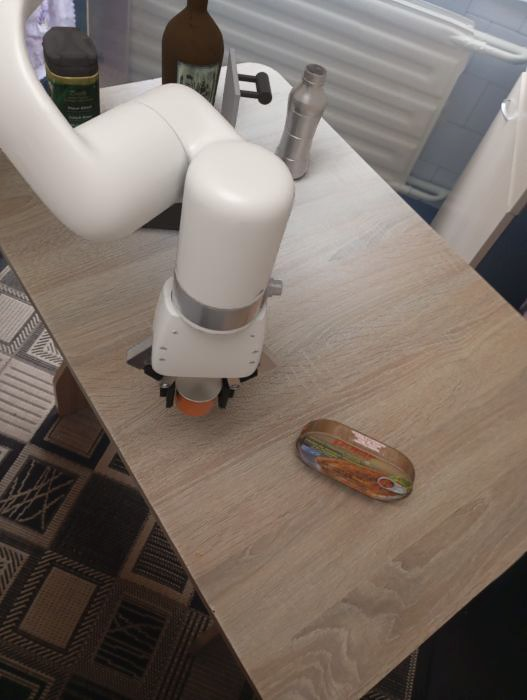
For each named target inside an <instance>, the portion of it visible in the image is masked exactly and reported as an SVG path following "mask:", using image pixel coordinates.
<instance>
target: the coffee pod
mask: <svg viewBox="0 0 527 700" xmlns="http://www.w3.org/2000/svg"><path fill="white" fill-rule="evenodd" d="M221 389H222V378H206V377H177V378H176V379H175V396H174V404H175V405H176V407H177V409H178V410H179V411H180V412H182V414H184V415H187V416H190V417H202V416H205V415H207V414H208V413H209V412H211V411H212V409H213V408H214V407H215V403H216V399H217V397H218V394H219V393H220V391H221Z"/></svg>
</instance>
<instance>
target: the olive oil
mask: <svg viewBox="0 0 527 700" xmlns="http://www.w3.org/2000/svg"><path fill="white" fill-rule="evenodd" d="M208 5H209V0H186V6H185V7H184V8H183V9H182V10H181V11H179V12H177V14H175V15H174V16H173V17H171V18H170V20H168V22H167V24H166V25H165V27H164V29H163V34H162V36H161V37H162V38H161V85H164V84H169V83H176V84H182V85H185V86H188V87H190V88H191V89H193V90H195V91H196V92H198V93H199V94H200V95H202V96H203V97H204V98H205V99H206V100H207V101H208V102H209V103H210V104H211V105H212V106H213V107H214V108H215V102H216V98H217V97H216V96H217V92H218V87H219V86H218V85H219V81H220V77H221V71H222V66H223V60H224V55H225V42H224V36H223V34H222V30H221V29H220V27H219V26H218V24H217V23H216V21H215V20H214V19H213V17H212V16H211V14H210V13H209V11H208Z"/></svg>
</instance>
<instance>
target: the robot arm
mask: <svg viewBox="0 0 527 700" xmlns="http://www.w3.org/2000/svg"><path fill="white" fill-rule="evenodd" d="M44 1H45V0H0V149H1V151H2V153H3V154H4V155H5V156H6V158H7V159H8V160H9V162H11V164H12V165H13V166H14V168H15V169H16V170H17V172H18V173H19V174H20V175H21V177H22V178H23V180H24V181H25V182H26V183H27V184H28V186H29V187H30V188H31V189H32V191H33V193H35V194H36V196H37V197H38V198H39V199H40V200H41V201H42V203H43V204H44V205H45V207H47V209H48V210H49V211H50V212H51V213H52V214H53V215H54V217H56V218H57V220H59V221H60V223H62V224H63V225H64V226H65V227H66V228H67V229H69V230H70V231H71V232H73V233H74V234H76V235H77V236H79V237H81V238H82V239H84V240H88V241H90V242H92V243H93V242H94V243H98V244H99V243H101V244H102V243H112V242H117V241H119V240H122V239H125V238H126V237H128V236H129V235H131V234H133V233H134V232H136V231H138V230H139V229H140V227H142V226H143V225H145V224H146V223H147V222H149V221H150V220H152V219H153V218H154V217H156V216H157V215H159V214H160V213H162V212H163V211H164V210H166V209H167V208H169V207H170V206H172V205H173V204H174V203H182V211H181V221H180V230H178V240H177V248H176V258H175V266H174V273H173V275H170V276H169V277H168V278H167V279H166V280H165V281H164V284H163V285H162V288H161V290H160V292H159V295H158V297H157V302H156V305H155V310H154V313H153V314H154V315H153V319H152V320H153V321H152V327H151V335H149V336H148V337H146V338H144V339H143V340H141V341H140V342H138V343H136V344H135V345H133V346H132V347H130V348H128V349H127V350H126V360H125V362H126V365H129V366H131V367H133V368H135V369H136V370H139V371H140V370H142V371H143V373H144V375H146V376H148V377H149V378H151V379H154V380H155V381H157V382H158V387H159V397H160V398H165V408H166V409H172V408H173V407H174V404H175V391H176V387H175V379H176V378H177V377H206V378H222V389H221V391H220V393H219V394H218V395H217V405H218V408H220V410H224V409H225V410H226V408H227V405H228V402H229V399H233V398H234V395H235V392H236V390H239V389H241V388H242V383H245V382H247V381H249V380H251V379H254V378H256V377H258V375H259V373H260V374H263V373H266V372H268V371H272V370H274V369H276V368H277V359H276V355H275V354H274V353H273V351H272V350H270V349H269V347H268V346H266V344H265V343H264V342H265V335H266V329H267V328H266V327H267V320H268V319H267V317H268V299H269V298H272V297H273V296H277V297H280V296H282V294H283V289H284V288H283V285H284V284H283V280H282V279H274V278H273V277H271V276H272V273H273V269H274V266H275V263H276V260H277V257H278V253H279V250H280V247H281V245H282V241H283V238H284V234H285V232H286V229H287V226H288V222H289V219H290V216H291V213H292V209H293V206H294V202H295V197H296V186H295V179H293V176H292V174H291V172H290V170H289V168H288V167H287V165H286V164H285V163H284V162H283V161H282V160H281V159H280V158H279V157H278V156H277V155H275V152H273V151H271V150H269V149H268V148H266V147H264V146H262V145H259V144H257V143H253V142H250V141H248V140H247V139H246V138H245V137H244V136H243V135H242V134H241V133H239V131H238V130H236V128H235V129H234V128H233V127H232V125H231V124H230V123H229V122H228V121H227V120H226V119H225V118H224V117H223V116H222V115H221V112H220V111H218V110H217V108H216V107H215V106H214V107H213V106H212V105H211V104H210V103H209V102H208V101H207V100H206V99H205V98H204V97H203V96H202V95H200V94H199V93H198V92H196V91H195V90H193V89H191V88H190V87H188V86H185V85H182V84H176V83H169V84H164V85H162V84H161V85H159V86H156V87H153V88H151V89H149V90H147V91H146V92H143V93H141V94H139V95H137V96H136V97H134V98H131V99H130V100H127V101H126V102H122V103H120V104H118V105H116V106H114V107H112V108H111V109H109V110H106V111H104V112H103V113H100V115H99V116H97V117H95V118H93V119H91V120H89V121H87V122H85V123H83V124H81V125H79V126H77V127H75V128H72V126H71V125H70V124H69V122H68V121H67V120H66V119H65V117H64V116H63V115H62V113H61V112H60V111H59V109H58V108H57V106H56V105H55V104H54V102H53V101H52V100H51V98H50V97H49V95H48V92H47V90H46V89H45V88H44V86H43V84H42V83H41V80H40V79H39V77H38V74H37V72H36V70H35V68H34V66H33V63H32V61H31V57H30V54H29V49H28V46H27V38H26V22H27V21H28V20H29V18H30V17H31V15H33V14H34V12H35V11H36V10H37V9H38V8H39V7H40V5H41V4H42V3H43V2H44Z"/></svg>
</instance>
